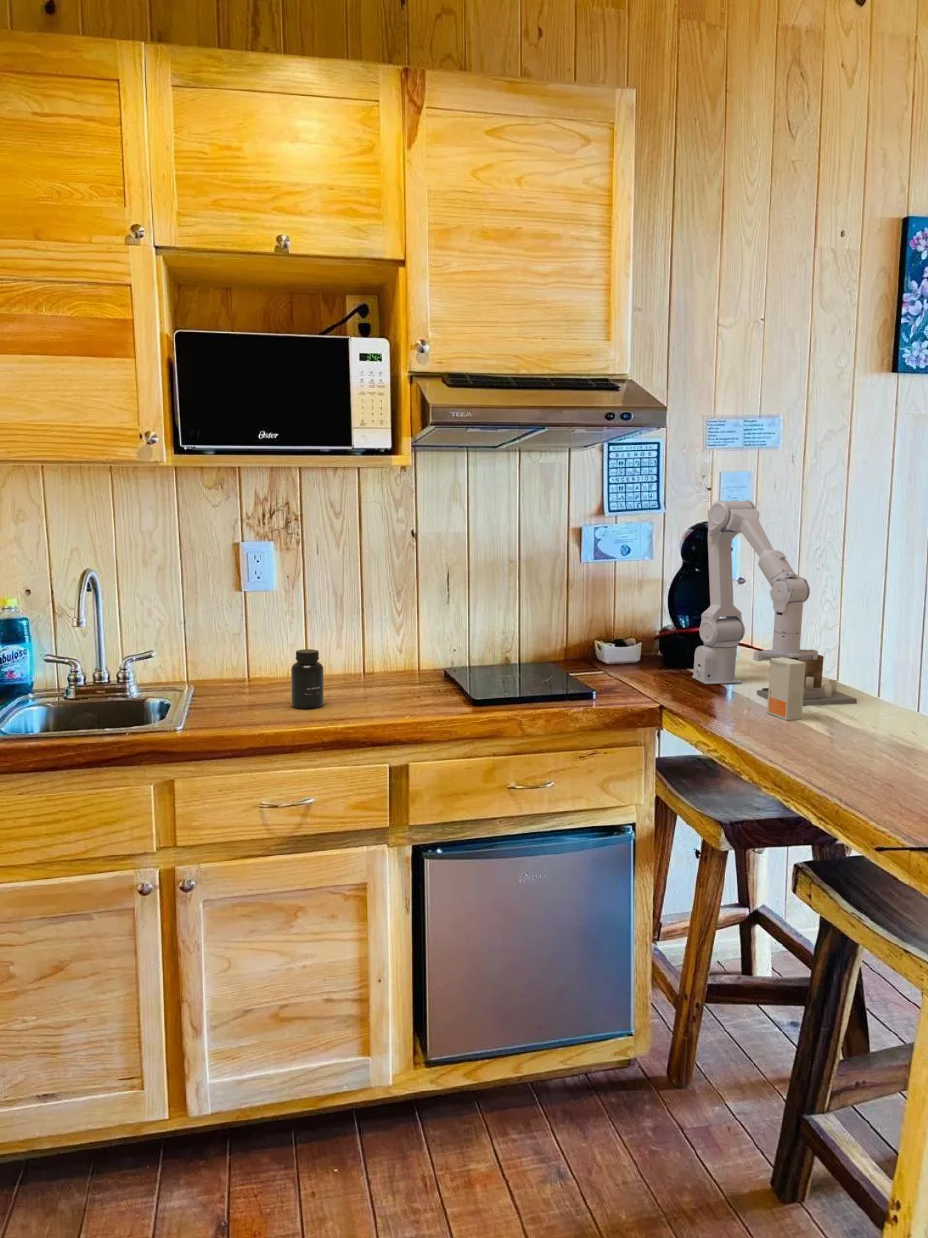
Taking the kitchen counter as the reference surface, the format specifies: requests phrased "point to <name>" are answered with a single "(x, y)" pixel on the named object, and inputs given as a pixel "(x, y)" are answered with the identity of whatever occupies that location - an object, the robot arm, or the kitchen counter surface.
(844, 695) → the dock
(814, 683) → the walnut block
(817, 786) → the kitchen counter surface
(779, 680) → the skincare box
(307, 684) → the supplement bottle
